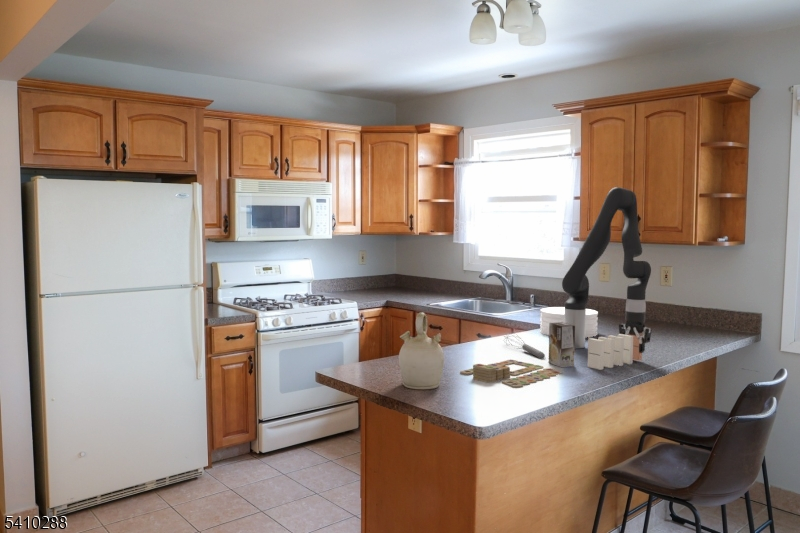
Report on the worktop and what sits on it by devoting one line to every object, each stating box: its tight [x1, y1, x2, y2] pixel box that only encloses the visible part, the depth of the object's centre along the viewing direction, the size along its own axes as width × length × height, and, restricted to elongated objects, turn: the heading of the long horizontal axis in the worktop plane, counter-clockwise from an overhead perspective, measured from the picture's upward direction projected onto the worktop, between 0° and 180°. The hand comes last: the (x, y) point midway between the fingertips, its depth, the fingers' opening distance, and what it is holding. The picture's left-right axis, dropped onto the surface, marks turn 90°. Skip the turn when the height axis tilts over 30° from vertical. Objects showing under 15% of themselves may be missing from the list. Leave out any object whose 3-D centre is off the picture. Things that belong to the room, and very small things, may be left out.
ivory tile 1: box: [617, 333, 634, 365], centre depth 255 cm, size 2×6×11 cm, turn 35°
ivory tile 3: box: [598, 336, 614, 369], centre depth 248 cm, size 2×6×11 cm, turn 34°
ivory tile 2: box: [607, 334, 624, 367], centre depth 252 cm, size 2×6×11 cm, turn 35°
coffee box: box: [548, 322, 576, 368], centre depth 250 cm, size 9×6×16 cm
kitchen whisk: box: [503, 332, 546, 359], centre depth 275 cm, size 6×34×6 cm, turn 18°
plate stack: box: [539, 306, 599, 339], centre depth 322 cm, size 28×28×12 cm
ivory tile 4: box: [587, 337, 604, 371], centre depth 245 cm, size 2×6×11 cm, turn 34°
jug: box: [398, 311, 445, 391], centre depth 216 cm, size 15×16×25 cm
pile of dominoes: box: [459, 359, 563, 389], centre depth 235 cm, size 35×27×6 cm
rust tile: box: [629, 332, 644, 361], centre depth 258 cm, size 2×6×11 cm, turn 34°
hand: (634, 351), depth 259 cm, fingers closed on rust tile, 6 cm apart
